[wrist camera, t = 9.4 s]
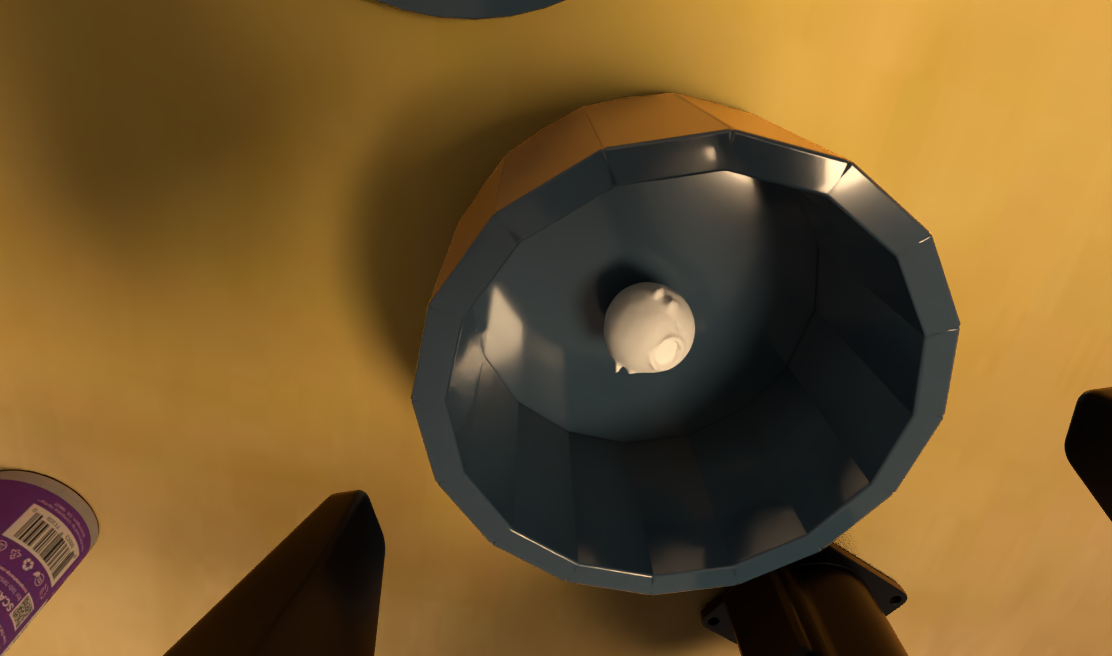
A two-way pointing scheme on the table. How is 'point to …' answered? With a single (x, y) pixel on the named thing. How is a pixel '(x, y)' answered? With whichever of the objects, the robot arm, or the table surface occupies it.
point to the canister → (709, 367)
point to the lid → (470, 7)
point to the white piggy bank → (648, 328)
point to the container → (37, 545)
